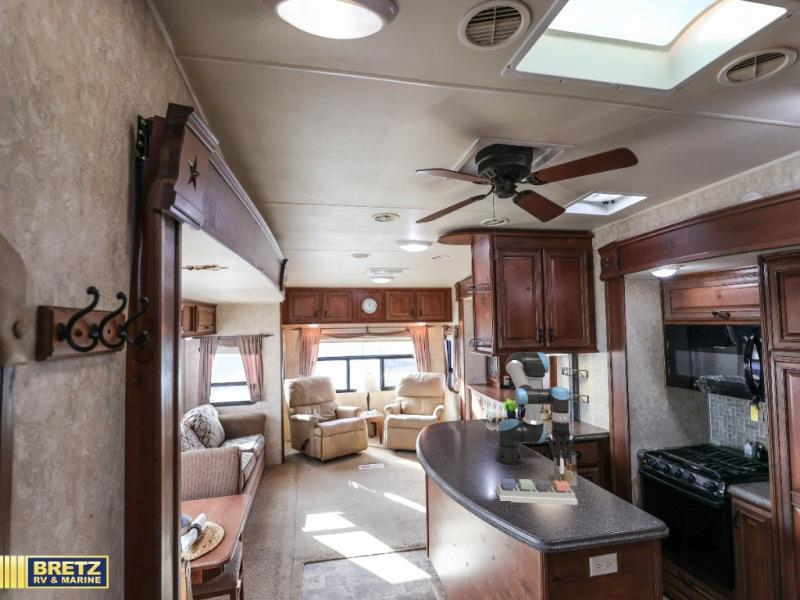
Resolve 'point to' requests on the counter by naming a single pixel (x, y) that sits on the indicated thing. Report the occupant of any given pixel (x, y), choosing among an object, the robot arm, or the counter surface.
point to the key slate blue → (509, 483)
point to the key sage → (526, 484)
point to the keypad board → (536, 495)
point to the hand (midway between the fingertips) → (561, 472)
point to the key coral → (561, 486)
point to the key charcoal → (543, 485)
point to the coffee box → (567, 470)
